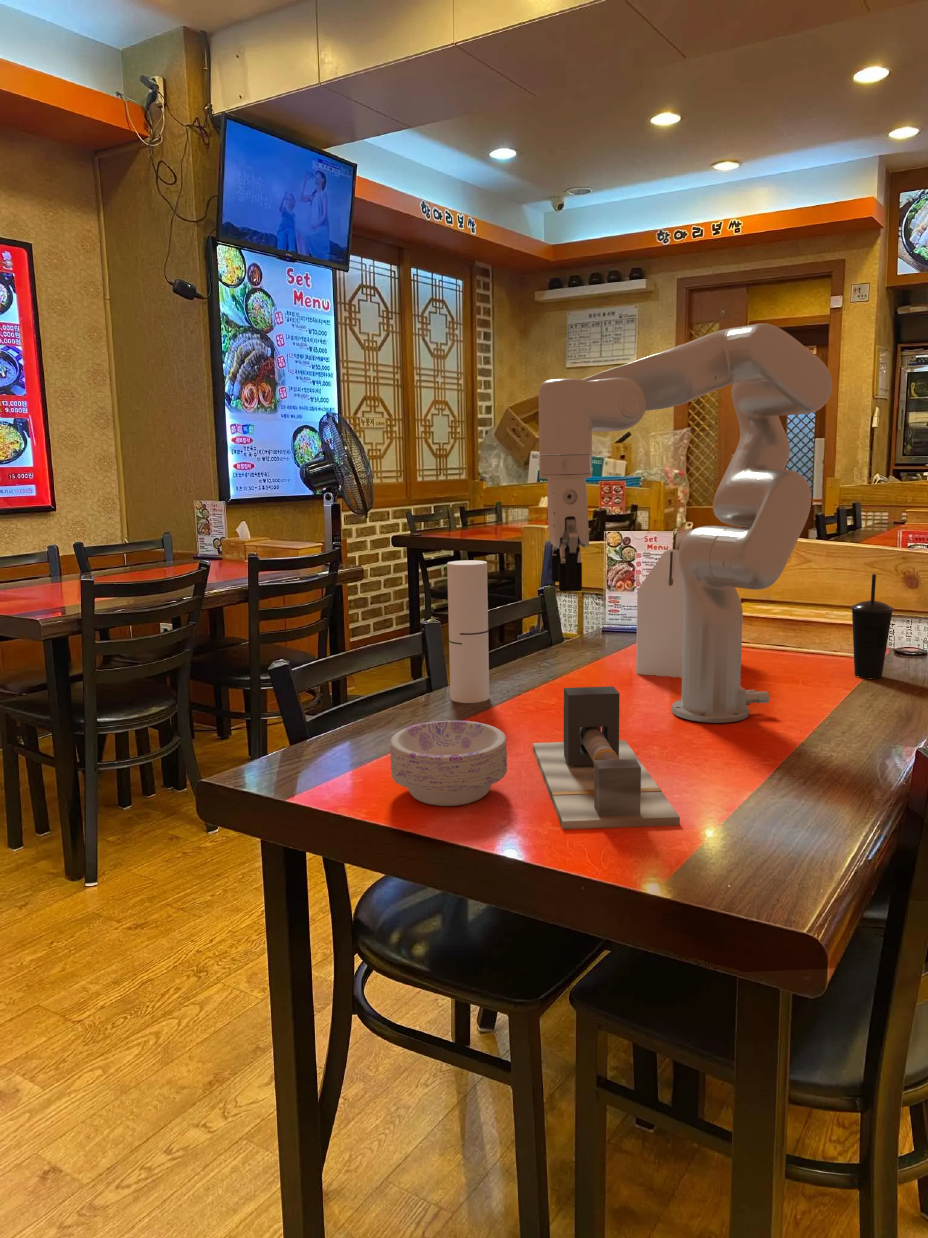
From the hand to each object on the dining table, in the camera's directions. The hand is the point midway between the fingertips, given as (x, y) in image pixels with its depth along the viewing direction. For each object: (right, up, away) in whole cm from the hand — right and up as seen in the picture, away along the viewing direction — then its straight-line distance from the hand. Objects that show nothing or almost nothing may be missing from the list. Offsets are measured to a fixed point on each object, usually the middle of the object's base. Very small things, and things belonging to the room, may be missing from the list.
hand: (566, 586), depth 134 cm
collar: (+3, -25, -6) cm, 26 cm away
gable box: (+30, -15, +56) cm, 65 cm away
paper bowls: (-17, -28, -14) cm, 35 cm away
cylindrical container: (-14, -20, +34) cm, 41 cm away
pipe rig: (+3, -27, -11) cm, 29 cm away
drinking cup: (+64, -16, +44) cm, 79 cm away
